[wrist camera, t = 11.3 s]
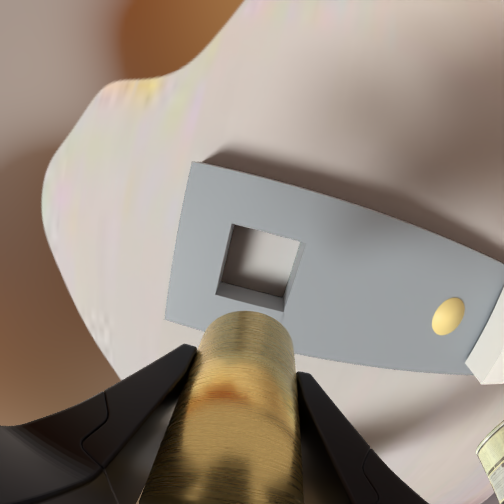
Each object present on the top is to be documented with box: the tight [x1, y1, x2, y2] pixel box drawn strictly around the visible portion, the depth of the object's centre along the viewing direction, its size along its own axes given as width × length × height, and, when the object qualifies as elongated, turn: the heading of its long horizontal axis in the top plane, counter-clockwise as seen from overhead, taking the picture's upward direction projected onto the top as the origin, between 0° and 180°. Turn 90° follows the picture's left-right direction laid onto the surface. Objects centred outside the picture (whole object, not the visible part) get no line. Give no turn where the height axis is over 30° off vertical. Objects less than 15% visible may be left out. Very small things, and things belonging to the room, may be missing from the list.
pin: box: [139, 311, 304, 504], centre depth 6 cm, size 3×3×6 cm
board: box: [165, 162, 504, 375], centre depth 17 cm, size 10×32×2 cm, turn 76°
